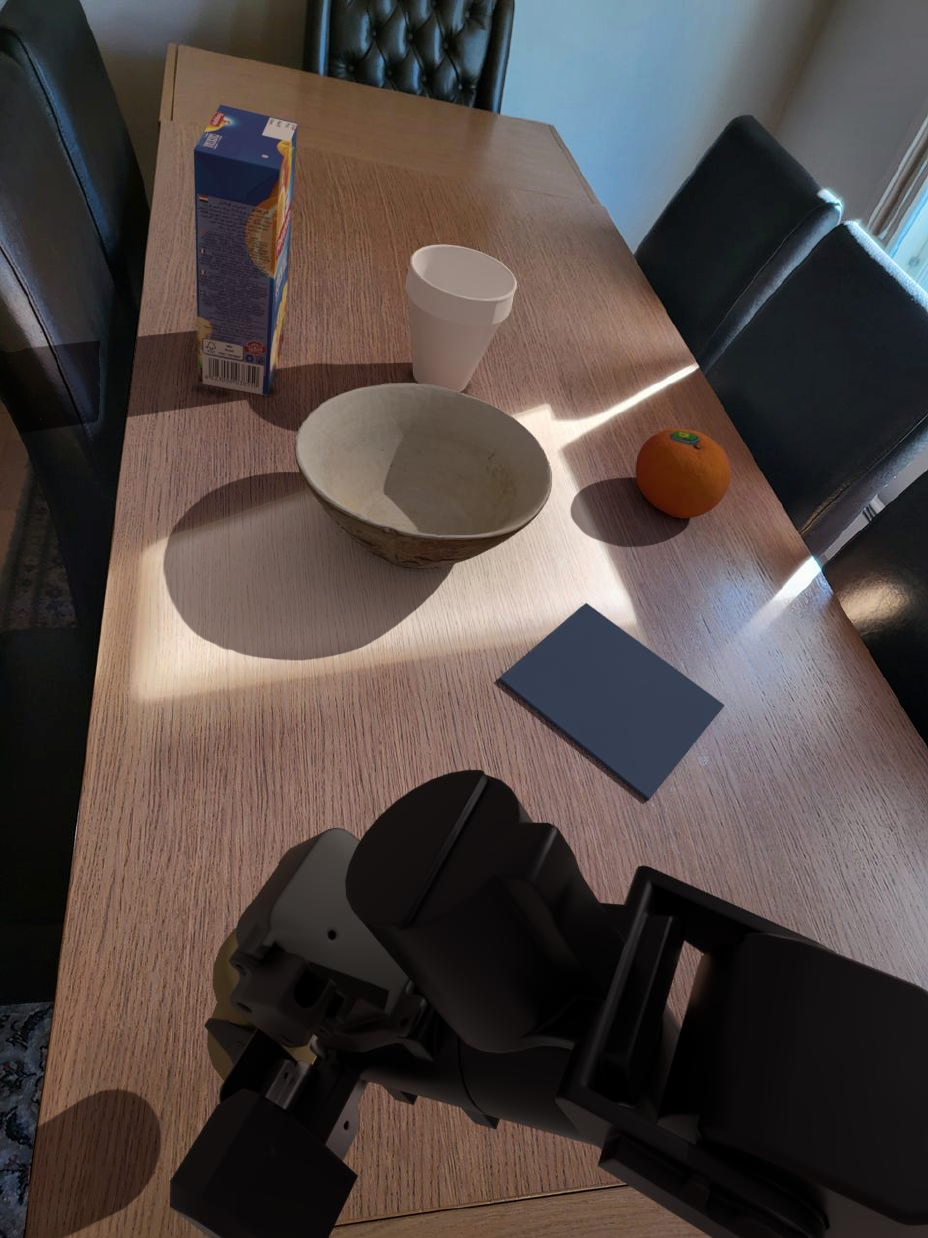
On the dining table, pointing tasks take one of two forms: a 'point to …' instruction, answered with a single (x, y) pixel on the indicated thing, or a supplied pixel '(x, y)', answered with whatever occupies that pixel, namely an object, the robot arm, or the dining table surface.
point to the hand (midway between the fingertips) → (246, 975)
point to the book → (614, 698)
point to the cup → (454, 311)
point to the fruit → (682, 472)
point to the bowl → (422, 471)
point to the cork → (223, 987)
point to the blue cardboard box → (242, 246)
